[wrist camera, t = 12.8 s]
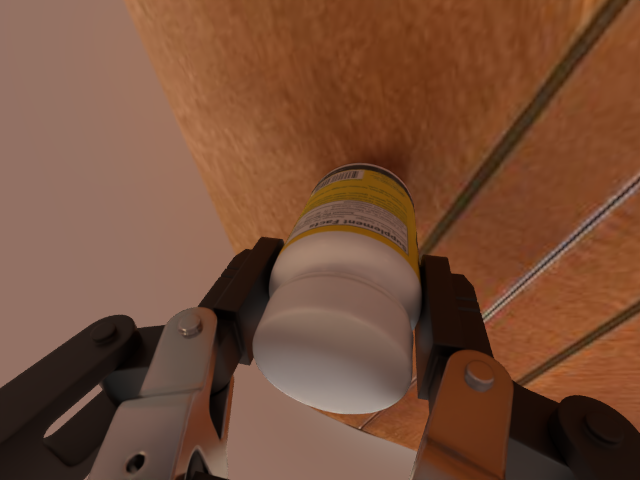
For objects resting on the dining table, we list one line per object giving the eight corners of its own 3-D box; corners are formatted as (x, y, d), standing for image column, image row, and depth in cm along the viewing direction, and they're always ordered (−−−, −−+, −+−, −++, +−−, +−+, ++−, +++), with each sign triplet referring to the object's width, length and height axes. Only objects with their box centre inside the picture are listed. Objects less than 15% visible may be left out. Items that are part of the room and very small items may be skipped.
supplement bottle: (383, 265, 16) (370, 442, 9) (298, 228, 16) (220, 379, 9) (436, 187, 13) (476, 358, 6) (334, 141, 13) (260, 264, 6)
